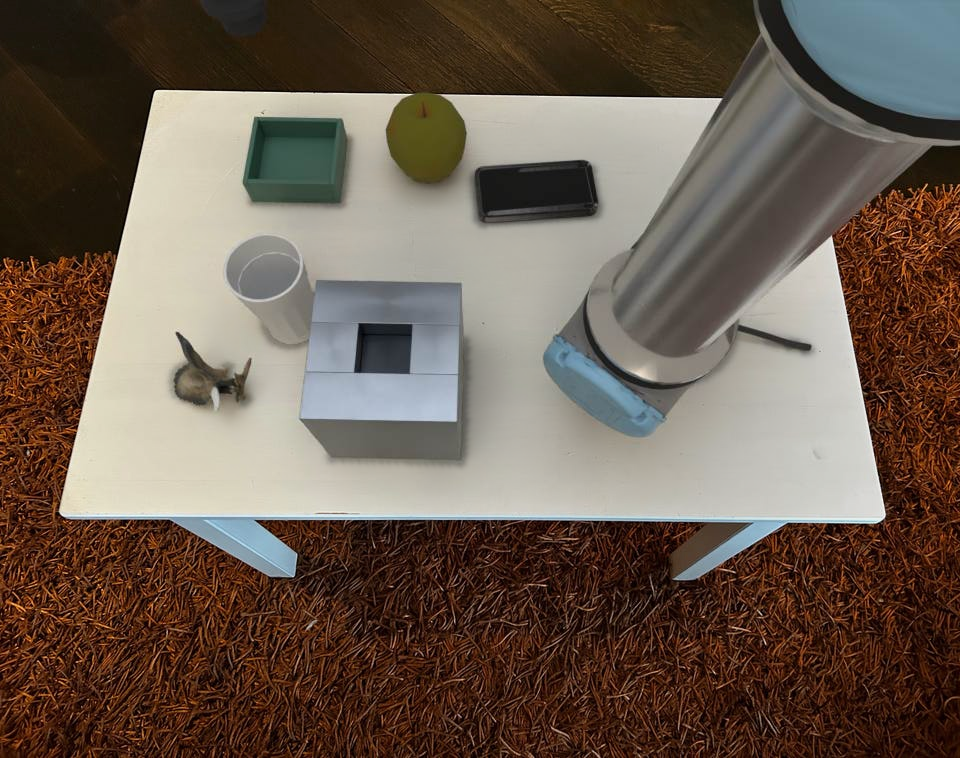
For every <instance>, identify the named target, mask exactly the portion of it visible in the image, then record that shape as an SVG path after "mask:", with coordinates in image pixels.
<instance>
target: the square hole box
mask: <svg viewBox="0 0 960 758" xmlns="http://www.w3.org/2000/svg"><path fill="white" fill-rule="evenodd" d="M462 285H463V284H462V282H448V281H447V282H444V281H442V282H439V281H438V282H437V281H396V280H395V281H390V280H388V281H387V280H386V281H385V280H378V281H377V280H341V279H340V280H339V279H338V280H336V279H335V280H333V279H332V280H331V279H316V280H315V286H314V293H313V294H314V302H313V310H312V318H311V326H310V334H309V339H308V344H307V351H306V360H305V366H304V376H303V385H302V391H301V399H300V407H299V416H298V419H299V421H301V423H302V424H303V425H304V426H305V428H306V429H307V430H308V431H309V432H310V433H311V435H312V436H313V437H314V438H315V440H316V441H317V442H318V444H320V445H321V446H322V448H323V449H324V450H325V451H326V452H327V454H328V455H329V456H330V457H331V458H333V459H334V458H335V459H336V458H337V459H383V460H434V461H439V460H440V461H441V460H442V461H461V460H462V459H461V458H462V430H463V428H462V427H463V426H462V425H463V396H464V395H463V394H464V393H463V391H464V363H465V362H464V359H465V357H464V356H465V331H464V330H465V329H464V308H463V286H462Z"/></svg>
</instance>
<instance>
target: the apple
mask: <svg viewBox="0 0 960 758" xmlns="http://www.w3.org/2000/svg"><path fill="white" fill-rule="evenodd" d="M467 135H468V132H467V127H466V122H465V119H464V118H463V116H461V114H460V112H459V111H458V110H457V108H456V107H455V105H454V104H453V102H452V101H450V100H449V99H447V98H446V97H444V96H443V95H441V94H439V93H432V92H425V91H424V92H414V93H412V94H410V95H407V96H404V97H403V98H401V99H400V100H399V101H398V103H396V105H395V106H394V107H393V109H392V112H391V115H390V117H389V119H388V122H387V124H386V127H385V137H386V143H387V144H386V145H387V148H388V151H389V152H388V153H389V155H390V157H391V159H392V160H393V161H394V163H395V164H396V166H398V167H399V169H401V171H402V172H403V173H404V174H405V175H406V176H407V177H409V178H410V179H412V180H414V182H415V181H416V182H419V183H424V184H434V183H440V182H442V181H443V180H445V179H447V178H448V177H449V176H450V175H451V174H452V173H453V172H454V171H455V169H456V168H457V167H458V166H459V164H460V163H461V161H462V159H463V157H464V153H465V150H466V149H465V148H466V142H467Z"/></svg>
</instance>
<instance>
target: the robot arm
mask: <svg viewBox="0 0 960 758" xmlns="http://www.w3.org/2000/svg"><path fill="white" fill-rule="evenodd" d="M752 3H753V4H752V5H753V11H754V17H755V19H756V22H757V25H758V29H759V32H760V33H759V35H758V37H757V39H756V41H755V43H753V45H752V47H751V49H750V51H749V52H748V53H747V56H746V58H745V59H744V61H743V62H742V64H741V66H740V68H739V69H738V71H737V73H736V74H735V76H734V78H733V79H732V81H731V83H730V85H729V86H728V88H727V90H726V92H725V93H724V95H723V97H722V99H721V100H720V101H719V104H718V105H717V107H716V108H715V110H714V112H713V113H712V115H711V118H709V121H708V123H707V124H706V126H705V127H704V129H703V130H702V132H701V134H700V136H699V137H698V139H697V141H696V143H695V144H694V146H693V147H692V150H691V151H690V153H689V155H688V156H687V158H686V160H685V162H684V163H683V165H682V167H681V168H680V171H678V173H677V175H676V176H675V179H674V180H673V182H672V183H671V185H670V187H668V190H667V191H666V194H665V195H664V197H663V198H662V201H661V202H660V203H659V206H658V207H657V209H656V211H655V212H654V214H653V216H652V217H651V219H650V221H649V222H648V224H647V226H646V228H645V230H644V231H643V233H642V234H641V235H640V236H639V238H638V239H636V240H635V242H634V243H633V244H632V246H631V247H630V248H629V249H627V250H625V251H622V252H620V253H618V254H617V255H615V256H613V257H612V258H611V259H609V260H608V261H607V262H606V263H605V264H603V266H602V267H601V268H600V270H599V271H598V272H597V274H596V275H595V277H594V278H593V280H592V282H591V284H590V286H589V288H588V290H587V292H586V294H585V295H584V298H583V299H582V300H581V303H580V305H579V306H578V308H577V310H576V311H575V312H574V314H573V315H572V316H571V318H570V319H569V320H568V321H567V323H565V325H564V327H562V329H560V331H559V333H555V334H554V335H553V336H552V340H551V341H550V343H549V345H548V346H547V347H546V349H545V350H544V352H543V354H542V355H543V356H542V362H543V363H542V364H543V366H544V369H545V371H546V373H547V375H548V376H549V377H550V379H551V380H552V381H553V383H554V384H555V385H556V386H557V387H558V389H560V390H561V392H562V393H563V394H564V395H566V397H568V398H569V399H570V400H571V401H572V402H573V403H574V404H575V405H576V406H578V407H579V408H581V410H583V411H584V412H585V413H586V414H588V415H590V416H591V417H592V418H594V420H597V421H598V422H600V423H601V424H603V425H605V426H607V427H608V428H610V429H611V430H614V431H616V432H618V433H619V434H622V435H625V436H627V437H631V438H635V439H636V438H637V439H640V438H641V439H642V438H646V437H649V436H651V435H652V434H653V433H654V432H655V431H656V430H657V429H658V428H659V426H660V425H661V424H662V423H663V424H664V423H665V422H666V421H667V415H668V414H669V413H670V411H671V410H672V409H673V407H674V406H675V405H676V404H677V402H678V401H679V400H680V399H681V397H682V396H683V395H684V394H685V393H687V391H688V390H689V389H690V388H691V387H693V386H694V385H695V384H696V383H698V382H699V381H700V380H701V379H702V378H703V377H705V376H706V375H707V374H708V373H710V372H711V371H712V370H713V369H715V367H717V366H718V365H719V363H720V362H722V360H723V359H724V358H725V357H726V356H727V354H728V353H729V351H730V350H731V348H732V347H733V345H734V342H735V340H736V337H737V334H738V332H740V333H744V334H747V335H751V336H755V337H758V338H761V339H764V340H767V341H770V342H774V343H777V344H780V345H783V346H786V347H790V348H794V349H799V350H802V351H803V350H804V351H811V349H812V347H813V345H812V344H811V343H806V342H799V341H794V340H792V339H787V338H785V337H782V336H778V335H775V334H771V333H769V332H766V331H762V330H759V329H755V328H752V327H750V326H745V325H741V324H739V322H740V318H742V317H743V316H744V315H745V314H746V313H747V312H748V311H749V310H750V309H751V308H752V307H754V306H755V305H756V304H757V303H758V302H759V301H761V299H763V298H764V297H765V296H766V295H767V294H768V293H769V292H771V291H772V290H773V289H774V288H775V287H776V286H777V285H779V283H780V282H781V281H783V280H784V279H785V278H786V277H788V275H789V274H791V272H793V271H794V270H795V269H797V268H798V266H800V265H801V264H802V263H803V262H804V261H805V260H807V258H808V257H810V256H811V255H812V254H813V253H814V252H815V251H816V250H817V249H818V248H820V247H821V246H822V245H823V244H824V243H825V242H826V241H827V240H829V239H830V238H831V237H833V235H834V234H835V233H837V231H839V230H840V229H841V228H842V227H843V226H844V225H845V224H847V223H848V222H849V221H850V220H851V219H852V218H854V216H855V215H857V214H858V213H859V212H860V211H861V210H862V209H864V208H865V207H866V206H867V205H868V203H870V202H871V201H872V200H873V199H875V198H876V197H877V196H878V195H879V194H880V193H881V192H883V190H885V189H886V188H887V187H888V186H889V185H891V183H893V182H894V181H895V180H896V179H897V178H898V177H899V176H900V175H902V173H904V172H905V171H906V170H907V169H908V168H909V167H911V166H912V165H913V164H914V163H915V162H916V161H917V160H918V159H919V158H921V157H922V156H923V155H924V154H925V153H927V151H928V150H929V149H931V148H932V147H933V146H934V147H935V146H936V147H940V146H941V147H953V146H960V0H752Z"/></svg>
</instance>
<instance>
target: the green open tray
mask: <svg viewBox="0 0 960 758" xmlns="http://www.w3.org/2000/svg"><path fill="white" fill-rule="evenodd" d="M347 147H348V135H347V131H346V127H345V124H344V119H343V118H342V117H299V116H298V117H296V116H294V117H292V116H291V117H290V116H254V117H253V122H252V127H251V133H250V138H249V143H248V148H247V149H248V150H247V153H246V154H247V155H246V160H245V166H244V169H243V170H244V171H243V176H242V181H241V184H242V185H243V187H244V189H245V190H246V193H247V194H248V196H249V198H250V200H251V202H254V203H255V202H256V203H257V202H259V203H303V204H305V203H307V204H310V203H311V204H314V203H315V204H341V201H342V193H343V192H342V191H343V184H344V174H345V167H346V166H345V165H346V156H347V149H348V148H347Z"/></svg>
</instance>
